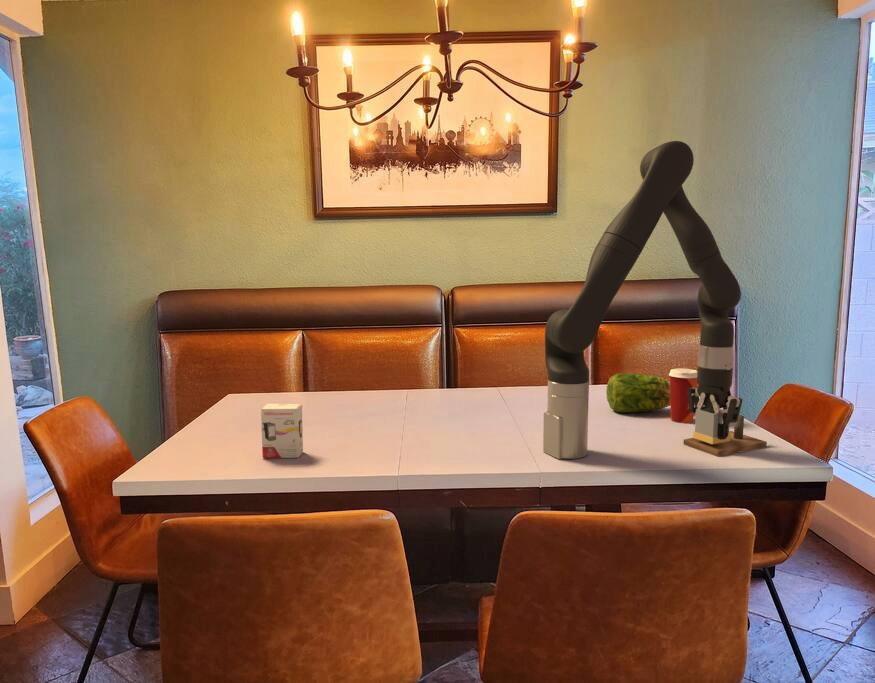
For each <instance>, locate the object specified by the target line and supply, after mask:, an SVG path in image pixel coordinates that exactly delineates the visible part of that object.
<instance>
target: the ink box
mask: <svg viewBox="0 0 875 683" xmlns="http://www.w3.org/2000/svg"><path fill="white" fill-rule="evenodd" d="M260 412H261V414H260V415H261V417H260V419H261V443H262V444H261V445H262V446H261V447H262V449H261V450H262V459H263V458H264V459H267V458H269V459H273V458H274V459H280V458H283V459H293V458H294V459H295V458H296V459H297V458H299V457H300V456H301V455H302V454H303V453H304V440H303V439H304V436H303V432H304V431H303V430H304V429H303V404H300V403H266V405H264V406H263V407H262V408H261V409H260Z"/></svg>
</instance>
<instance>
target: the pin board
mask: <svg viewBox="0 0 875 683" xmlns="http://www.w3.org/2000/svg"><path fill="white" fill-rule="evenodd" d="M733 424H734V426H733V431H732V430H729V435H730V441H728V442H722V443H717V444H710V443H707V442H704V441H701V440H698V439H695V438H693V437H691V438H690V437H689V438H683V442H682V443H683V445H684V446H688V447H690V448H693V449H696V450H698V451H702V452H705V453H707V454H709V455H713V456H715V457H722V456H727V455H731V454H737V453H742V452H746V451H751V450H757V449H761V448H767V445H768V441H765V440H762V439H759V438H757V437H756V438H755V437H752V436H748V435H745V434H744V427H745V426H744V424H745V416H744V415H742V414H739V416H738V420H737V422H734V423H733Z"/></svg>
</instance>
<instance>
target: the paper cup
mask: <svg viewBox="0 0 875 683" xmlns="http://www.w3.org/2000/svg"><path fill="white" fill-rule="evenodd" d="M668 376H669V382H670V406H669V407H670V421H672V422H674V423H678V424H690V423H693V420H694V416H695V414H694V413H691V412H690V411H689V403H688V394H687V389H688V388H694V387H697V388H698V383H697V370H696V369H691V368H672V369H670V372H669V373H668ZM694 407H695V403H694Z"/></svg>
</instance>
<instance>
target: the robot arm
mask: <svg viewBox="0 0 875 683" xmlns="http://www.w3.org/2000/svg"><path fill="white" fill-rule="evenodd" d="M694 159H695V158H694V153H693V150H692V148H691V146H689V144H687V143H686V142H683V141H681V140H671V141H667V142H664V143H662V144H660V145H657V146H655V147H654V148H653V149H651V150H649V151H648V152H646V154H645V155H643V157H642V159H641V161H640V165H639V172H640V176H641V179H642V181H641V184H640V185H639V188H638V189H637V191H636V192H635V193H634V195H633V197H631V199H630V200H629V201H628V202H627V203H626V204H625V205H624V207H623V208H622V209H621V210H620V211H619V212H618V213H617V215H616V216H615V217H614V218H612V220H611V222H610V223H609V225H607V228H606V229H605V231H604V232H603V233H602V235H601V237H600V239H599V241H598V243H597V244H596V245H595V248H594V250H593V252H592V255H591V257H590V261H589V264H588V268H587V273H586V276H585V280H584V283H583V286H582V288H581V290H580V292H579V294H578V295H577V297H576V298H575V300H574V302H572V304H571V306H570V307H569V309H565V308H564V309H559V310H557V311H555V312H554V313H552V314H551V315H550V316H549V318H548V319H547V321H546V324H545V330H544V358H545V361H544V362H545V367H546V370H547V371H546V372H547V404H546V405H547V411H544V413H543V437H542V438H543V440H542V441H543V443H542V444H543V446H542V451H543V452H544V453H546V454H548V455H549V456H551V457H554V458H555V459H557V460H558V459H559V460H561V459H566V460H569V459H570V460H574V459H575V460H576V459H581V458H584V457H586V456H587V455H588V443H589V442H588V439H589V438H588V437H589V436H588V433H589V401H590V400H589V395H590V391H589V390H590V386H589V385H590V370H589V368H588V365H587V363H586V360H585V359H586V358H585V354H584V353H585V350H587V349H588V348H589V347H590V345H591V344H592V343H593V341H594V340H595V338H596V336H597V334H598V331H599V329H600V327H601V325H602V322H603V320H604V318H605V316H606V314H607V312H608V309H609V307H610V305H611V304H612V302H613V300H614V299H615V296H616V295H617V294H618V292H619V291H620V289H621V287H622V285H623V283H624V282H625V280H626V279H627V276H629V273H630V272H631V271H632V269H633V267H634V265H635V264H636V263H637V260H638V259H639V257H640V255H641V254H642V252H643V250H644V248H645V246H646V244H647V242H648V241H649V239H650V238H651V235H652V234H653V232H654V230H655V229H656V227H657V224H658V223H659V221H660V219H661V217H662V215H663V214H664V216H665V218H666V219H667V221H668V223H669V225H670V226H671V228H672V230H673V233H674V234H675V237H676V239H677V241H678V244H679V245H680V247H681V251H682V252H683V255H684V257H685V260H686V262H687V264H688V267H689V268H690V271H692V273H693V274H694V275H696V276H697V277H698V278H699V279H700V282H701V283H702V284H701V285H700V287H699V289H698V292H697V308H698V316H699V321H700V334H699V336H700V337H699V349H698V354H697V370H696V371H697V387H694V388H688V389H687V394H688V403H689V411H690V412H691V413H694V416H695V417H696V409H706V408H713V409H714V412H715V414H718V420H719V424H718V435H717V437H718V439H720V440H723V439H726V438H727V437H728V429H729V430H730V426H729V423H730V424H732V423H733V424H734V423H735V422H737V420H738V416H739V415H740V411H741V407H742V404H743V398H741V397H735V396H734V395H732V393H731V387H732V386H733V378H734V377H733V376H734V360H735V359H734V358H735V357H734V356H735V354H734V340H735V328H734V327H735V326H734V324H733V322H732V321H731V320H730V318H729V311H730V310H732V309H734V308H735V307H737V306H738V304H739V303H740V302H741V298H742V292H741V291H742V290H741V287H740V284H739V282H738V280H737V278H736V276H735V274H734V273H733V270H731V269H730V267H729V265H728V264H727V263H726V261H725V260H724V259H723V257H722V254H721V251H720V248H719V246H718V244H717V241H716V239H715V237H714V235H713V232H712V231H711V230H712V229H710V227H709V225H708V224H707V222H705V220H704V219H703V218H702V217H701V215H700V214H699V213H698V212H697V210H696V209H695V208H694V207H693V205H692V204H691V202H690V200H689V198H688V197H687V195H686V193H685V191H684V187H683V184H684V183H685V182H686V180H687V179H688V178H689V176H690V174H691V172H692V170H693V167H694ZM694 403H695V406H694ZM720 409H722V410H720ZM723 413H724V417H723Z"/></svg>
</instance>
